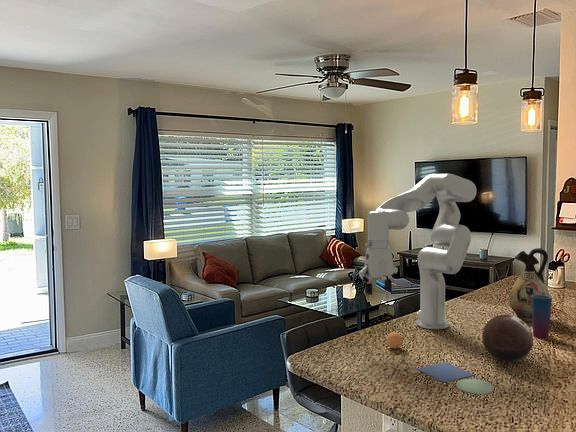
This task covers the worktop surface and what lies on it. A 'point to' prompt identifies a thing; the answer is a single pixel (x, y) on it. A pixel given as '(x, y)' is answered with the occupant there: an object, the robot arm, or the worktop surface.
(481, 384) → the far disc
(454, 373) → the blue square tile
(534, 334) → the cup
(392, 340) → the egg
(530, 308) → the ceramic jug
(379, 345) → the worktop surface
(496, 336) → the wooden sphere
